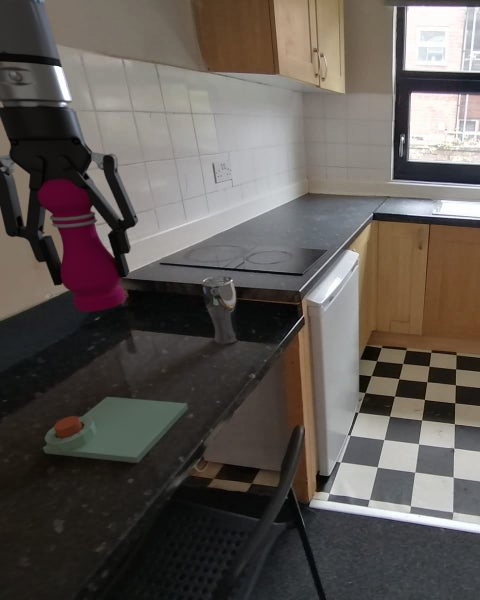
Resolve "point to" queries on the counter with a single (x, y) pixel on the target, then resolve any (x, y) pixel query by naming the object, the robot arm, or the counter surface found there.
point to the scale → (118, 430)
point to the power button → (68, 426)
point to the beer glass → (222, 308)
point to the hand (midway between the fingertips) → (93, 278)
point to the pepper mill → (81, 247)
